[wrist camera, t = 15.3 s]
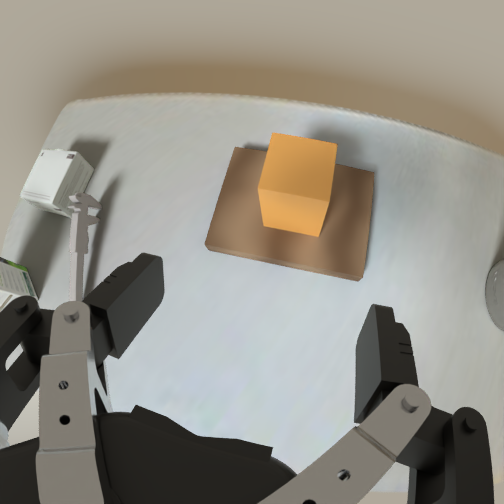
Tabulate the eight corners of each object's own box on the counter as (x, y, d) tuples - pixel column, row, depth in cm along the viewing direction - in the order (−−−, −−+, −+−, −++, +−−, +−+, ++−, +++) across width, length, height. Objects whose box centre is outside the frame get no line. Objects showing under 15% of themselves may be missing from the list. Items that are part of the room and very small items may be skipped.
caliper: (96, 206, 37) (71, 185, 31) (103, 206, 37) (78, 184, 31) (77, 368, 31) (44, 368, 26) (84, 369, 31) (51, 370, 25)
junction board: (370, 181, 35) (374, 172, 33) (358, 281, 31) (362, 277, 30) (237, 156, 37) (234, 146, 35) (208, 250, 34) (204, 244, 32)
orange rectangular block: (326, 188, 33) (337, 143, 25) (318, 236, 31) (329, 201, 23) (275, 178, 33) (272, 132, 26) (263, 226, 32) (257, 188, 24)
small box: (39, 210, 38) (17, 196, 33) (60, 164, 40) (42, 146, 35) (73, 220, 37) (51, 204, 32) (96, 168, 39) (78, 149, 34)
